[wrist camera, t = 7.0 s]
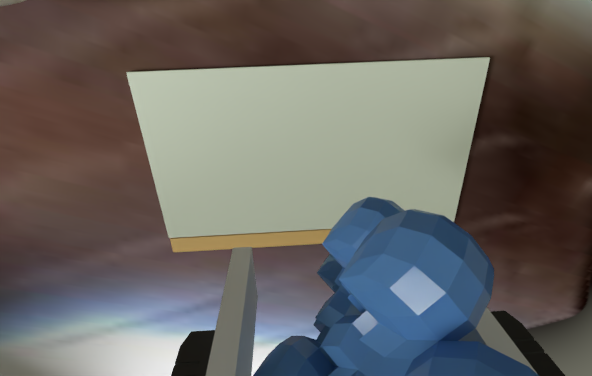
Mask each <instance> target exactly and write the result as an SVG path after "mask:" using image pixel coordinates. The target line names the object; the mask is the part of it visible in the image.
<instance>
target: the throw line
mask: <svg viewBox="0 0 592 376" xmlns="http://www.w3.org/2000/svg"><path fill="white" fill-rule="evenodd" d="M330 231H331V229H317V230H300V231H282V232H265V233H247V234H230V235H212V236H195V237H177V238H170V241H171V245H172V249H173V252H188V251H205V250H222V249H233V248H238V247H252V248H257V247H274V246H291V245H308V244H322V243H323V242H324V240H325V239H326V237H327V236H328V234H329V232H330Z"/></svg>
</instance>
